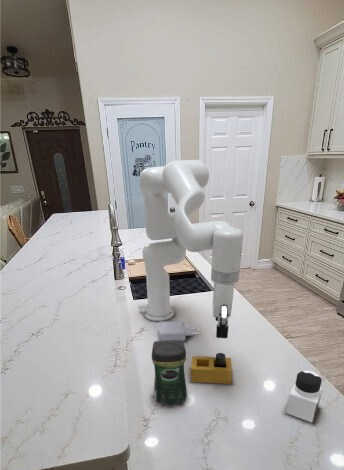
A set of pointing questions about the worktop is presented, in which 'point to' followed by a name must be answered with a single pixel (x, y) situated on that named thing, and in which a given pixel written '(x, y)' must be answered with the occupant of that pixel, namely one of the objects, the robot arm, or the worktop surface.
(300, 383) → the medicine bottle
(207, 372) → the ochre block
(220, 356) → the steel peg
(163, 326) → the charger
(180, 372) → the coffee jar
